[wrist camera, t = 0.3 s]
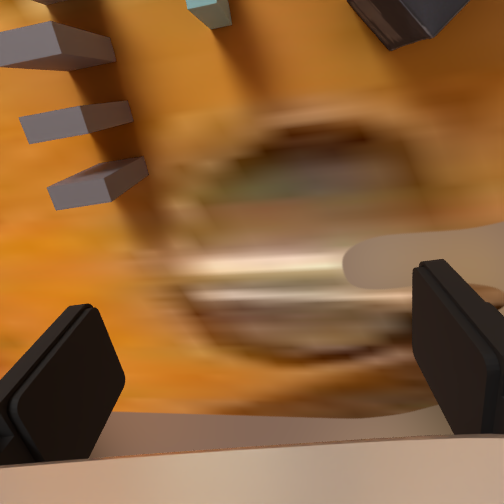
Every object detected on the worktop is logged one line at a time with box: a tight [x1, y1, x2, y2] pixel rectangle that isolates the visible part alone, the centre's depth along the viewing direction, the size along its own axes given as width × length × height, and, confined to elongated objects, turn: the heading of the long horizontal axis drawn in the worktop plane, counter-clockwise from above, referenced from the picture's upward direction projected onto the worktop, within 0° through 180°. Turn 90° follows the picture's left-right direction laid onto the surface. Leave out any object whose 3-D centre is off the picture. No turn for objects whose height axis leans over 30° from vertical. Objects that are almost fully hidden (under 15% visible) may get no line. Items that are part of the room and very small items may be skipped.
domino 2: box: [19, 100, 133, 144], centre depth 33 cm, size 2×5×10 cm, turn 99°
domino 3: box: [47, 156, 149, 210], centre depth 35 cm, size 2×5×10 cm, turn 100°
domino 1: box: [0, 21, 116, 71], centre depth 31 cm, size 2×5×10 cm, turn 100°
